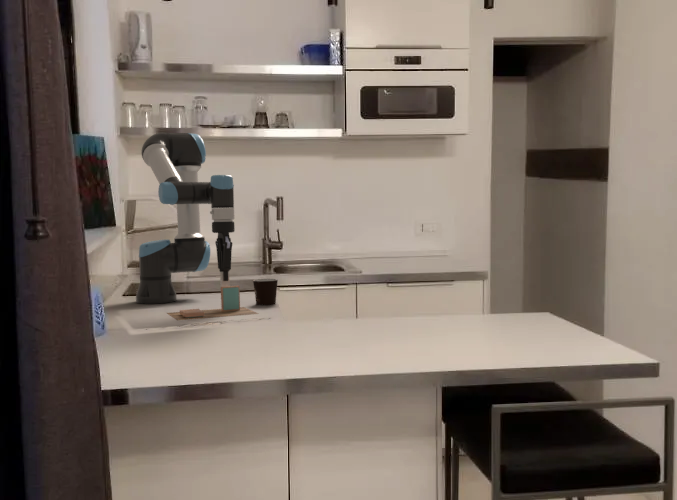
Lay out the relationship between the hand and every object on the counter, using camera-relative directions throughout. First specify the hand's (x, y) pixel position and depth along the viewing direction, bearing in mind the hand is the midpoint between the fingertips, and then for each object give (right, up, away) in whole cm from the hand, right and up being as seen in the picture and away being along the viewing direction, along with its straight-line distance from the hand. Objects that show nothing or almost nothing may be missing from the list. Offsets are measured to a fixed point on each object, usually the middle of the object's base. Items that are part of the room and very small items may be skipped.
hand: (225, 290), depth 241 cm
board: (-2, -8, -11) cm, 14 cm away
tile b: (+3, -6, -6) cm, 9 cm away
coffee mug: (+13, -7, +10) cm, 18 cm away
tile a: (-10, -6, -12) cm, 17 cm away
